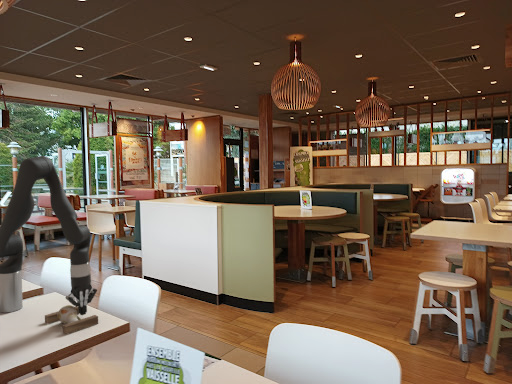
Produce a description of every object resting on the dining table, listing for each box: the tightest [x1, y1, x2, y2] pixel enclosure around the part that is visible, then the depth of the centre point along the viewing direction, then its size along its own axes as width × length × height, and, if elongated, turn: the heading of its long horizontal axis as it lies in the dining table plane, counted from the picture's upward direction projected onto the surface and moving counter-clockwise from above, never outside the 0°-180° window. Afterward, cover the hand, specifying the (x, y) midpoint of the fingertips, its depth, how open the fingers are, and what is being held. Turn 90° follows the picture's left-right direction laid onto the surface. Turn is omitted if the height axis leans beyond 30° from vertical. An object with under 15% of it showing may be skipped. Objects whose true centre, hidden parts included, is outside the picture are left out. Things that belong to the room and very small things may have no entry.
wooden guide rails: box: [44, 306, 99, 335], centre depth 150 cm, size 18×13×3 cm
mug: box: [57, 304, 82, 325], centre depth 149 cm, size 8×10×10 cm
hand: (82, 314), depth 153 cm, fingers closed
